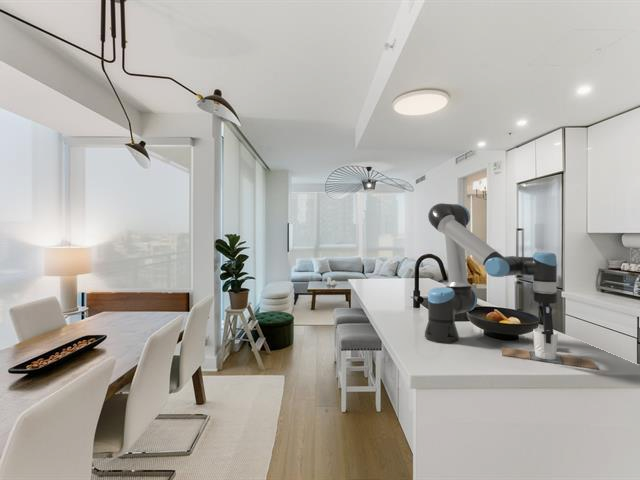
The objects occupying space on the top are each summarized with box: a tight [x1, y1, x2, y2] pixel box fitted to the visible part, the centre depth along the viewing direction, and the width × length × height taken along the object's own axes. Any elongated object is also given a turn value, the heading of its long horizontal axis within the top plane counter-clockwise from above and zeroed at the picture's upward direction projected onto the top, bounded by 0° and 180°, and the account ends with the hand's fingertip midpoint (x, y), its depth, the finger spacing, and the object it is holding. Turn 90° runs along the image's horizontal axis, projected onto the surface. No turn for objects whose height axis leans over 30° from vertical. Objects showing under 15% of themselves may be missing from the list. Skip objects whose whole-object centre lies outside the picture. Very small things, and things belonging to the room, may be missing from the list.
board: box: [501, 346, 600, 371], centre depth 124 cm, size 30×10×1 cm, turn 62°
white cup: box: [532, 328, 559, 360], centre depth 124 cm, size 8×8×10 cm
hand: (545, 346), depth 124 cm, fingers open, 13 cm apart
